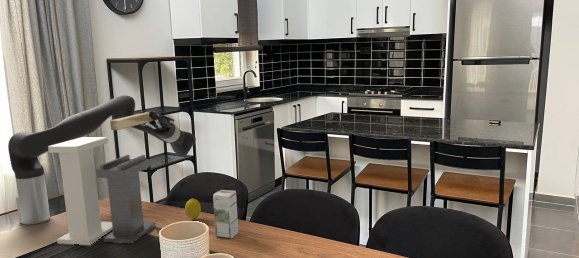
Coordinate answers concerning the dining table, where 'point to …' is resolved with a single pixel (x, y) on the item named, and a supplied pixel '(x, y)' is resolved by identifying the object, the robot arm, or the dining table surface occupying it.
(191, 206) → the lemon
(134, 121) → the bar
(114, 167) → the holder
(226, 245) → the dining table surface
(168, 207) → the dining table surface
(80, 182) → the white i-beam pedestal
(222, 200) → the syrup box
